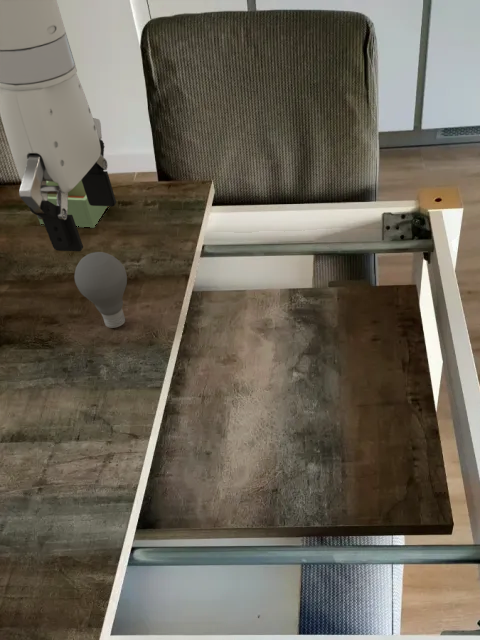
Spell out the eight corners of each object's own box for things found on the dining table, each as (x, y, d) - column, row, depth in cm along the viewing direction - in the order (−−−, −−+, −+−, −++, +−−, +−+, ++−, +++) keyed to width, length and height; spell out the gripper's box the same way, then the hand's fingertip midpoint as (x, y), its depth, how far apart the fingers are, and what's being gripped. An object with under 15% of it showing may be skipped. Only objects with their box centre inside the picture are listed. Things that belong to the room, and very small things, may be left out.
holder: (40, 225, 102) (30, 197, 98) (64, 197, 108) (54, 170, 104) (94, 228, 101) (85, 200, 97) (114, 200, 106) (107, 172, 103)
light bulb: (130, 340, 81) (108, 272, 74) (84, 337, 82) (59, 268, 75) (146, 311, 85) (127, 243, 78) (102, 308, 86) (80, 240, 79)
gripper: (35, 31, 68) (85, 189, 80) (-55, 94, 56) (20, 267, 68) (103, 30, 67) (144, 190, 79) (26, 95, 55) (88, 270, 67)
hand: (87, 226), depth 74 cm, fingers open, 9 cm apart
